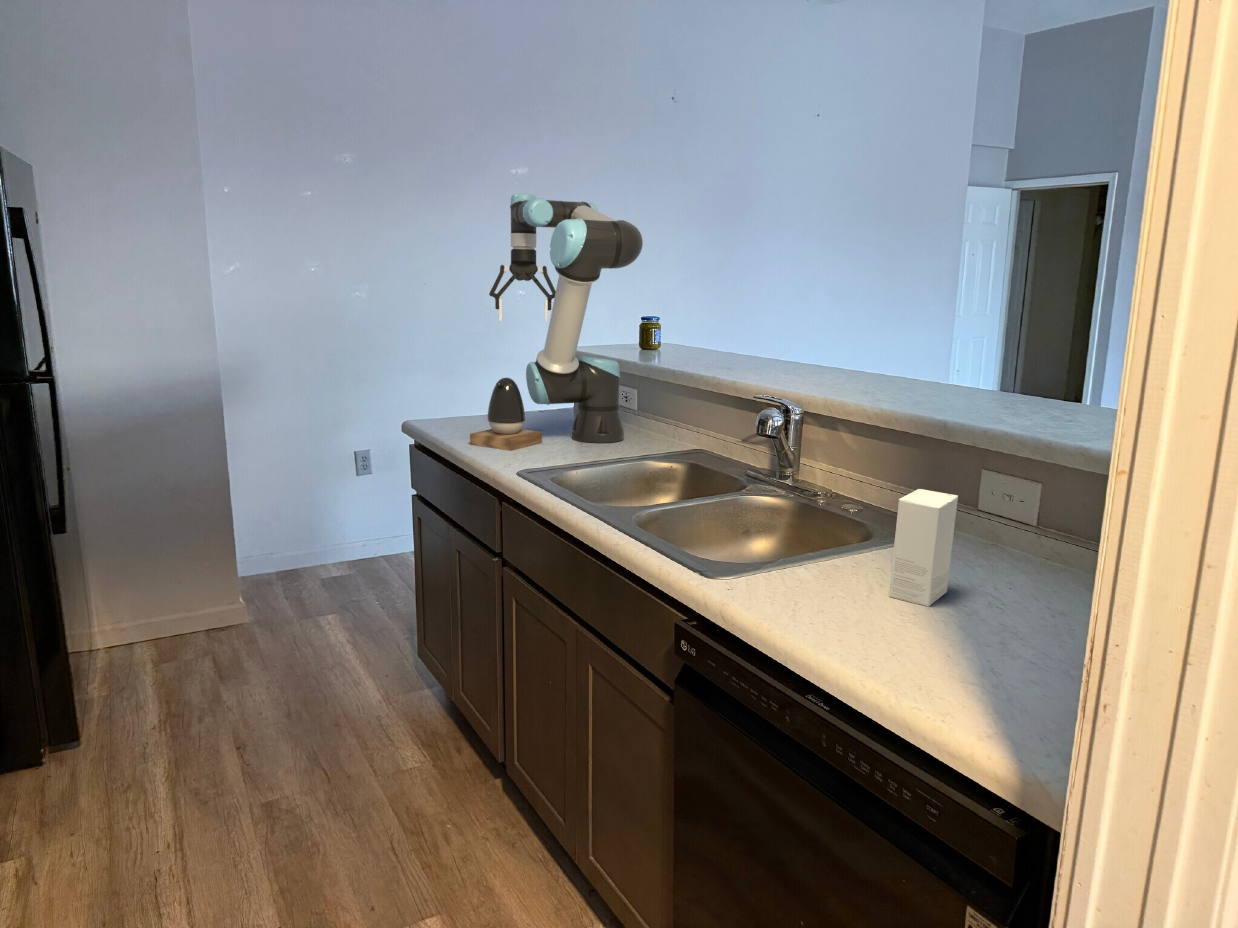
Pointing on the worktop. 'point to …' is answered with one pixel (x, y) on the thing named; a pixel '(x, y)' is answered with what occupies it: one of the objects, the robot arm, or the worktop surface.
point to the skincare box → (923, 546)
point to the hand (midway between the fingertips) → (523, 321)
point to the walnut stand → (506, 439)
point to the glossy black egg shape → (506, 408)
